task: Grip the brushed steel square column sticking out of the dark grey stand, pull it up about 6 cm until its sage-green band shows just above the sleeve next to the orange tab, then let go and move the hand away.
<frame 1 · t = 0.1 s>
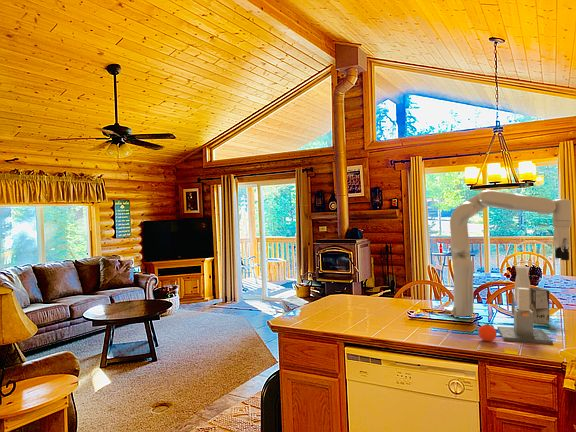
hand: (562, 259, 209), 31 cm above the countertop, tool pointing down, fingers open, 9 cm apart
stand: (523, 336, 186), on the countertop
column: (523, 310, 186), point 11 cm above the countertop, slide at 0.0 cm
clementine: (487, 341, 181), on the countertop
coffee box: (539, 321, 212), on the countertop
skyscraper: (522, 315, 227), on the countertop
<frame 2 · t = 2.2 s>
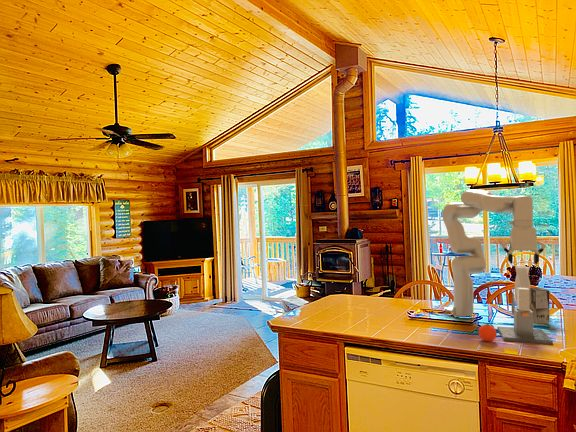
hand: (523, 263, 186), 32 cm above the countertop, tool pointing down, fingers open, 9 cm apart
nothing on the countertop moved.
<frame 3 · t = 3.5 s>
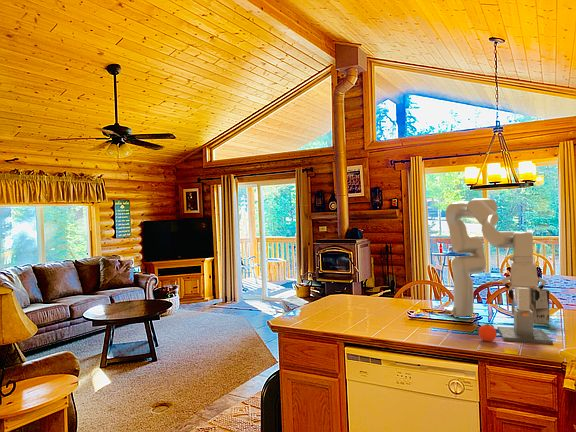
hand: (523, 299, 186), 16 cm above the countertop, tool pointing down, fingers open, 9 cm apart
nothing on the countertop moved.
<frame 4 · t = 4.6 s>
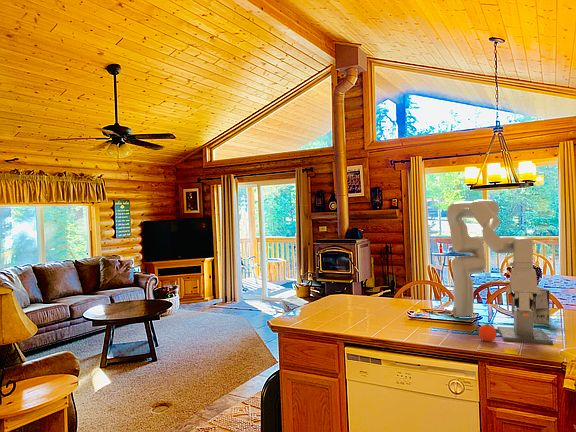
hand: (523, 307, 186), 13 cm above the countertop, tool pointing down, fingers closed on column, 4 cm apart
column: (523, 310, 186), point 11 cm above the countertop, slide at 0.0 cm, touching gripper
everything else where it was.
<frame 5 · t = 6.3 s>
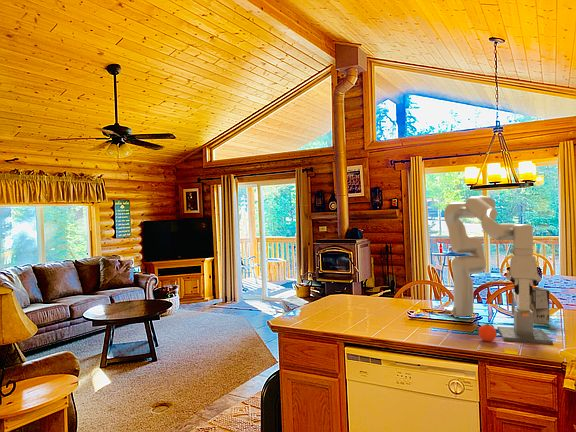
hand: (523, 294, 186), 19 cm above the countertop, tool pointing down, fingers closed on column, 4 cm apart
column: (523, 297, 186), point 17 cm above the countertop, slide at 5.8 cm, touching gripper
everything else where it was.
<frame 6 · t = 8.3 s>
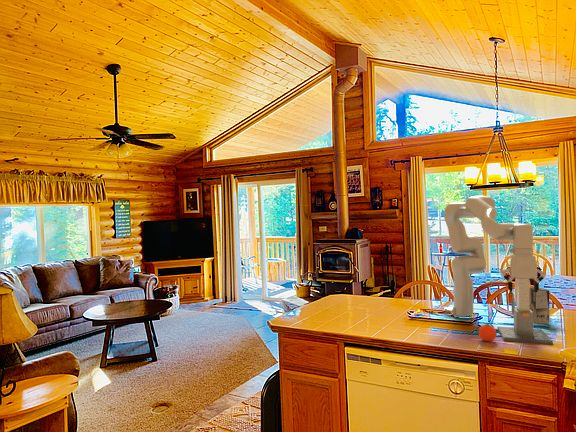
hand: (523, 291, 186), 20 cm above the countertop, tool pointing down, fingers open, 9 cm apart
column: (523, 296, 186), point 17 cm above the countertop, slide at 5.9 cm
everything else where it was.
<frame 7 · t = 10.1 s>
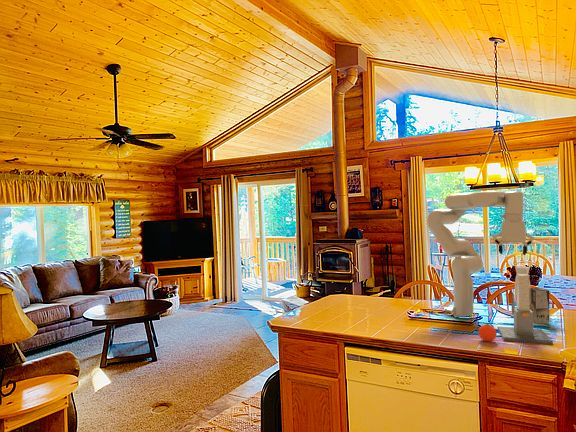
hand: (512, 254, 200), 35 cm above the countertop, tool pointing down, fingers open, 9 cm apart
nothing on the countertop moved.
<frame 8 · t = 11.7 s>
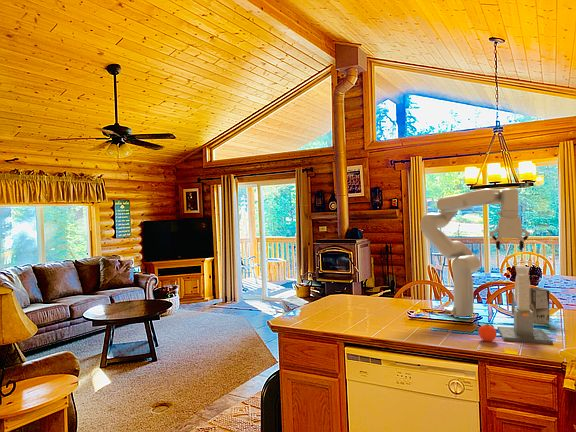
hand: (509, 249, 206), 36 cm above the countertop, tool pointing down, fingers open, 9 cm apart
nothing on the countertop moved.
at the end: column slide at 5.9 cm; the gripper is holding nothing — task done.
